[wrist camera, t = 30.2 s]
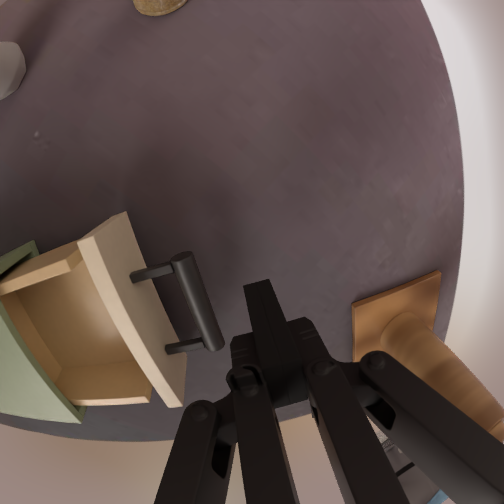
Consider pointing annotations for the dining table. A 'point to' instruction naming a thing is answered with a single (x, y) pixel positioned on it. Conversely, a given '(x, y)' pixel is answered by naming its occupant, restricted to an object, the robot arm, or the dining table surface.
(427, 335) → the pepper mill
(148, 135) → the dining table surface
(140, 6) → the spice jar
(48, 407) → the cabinet
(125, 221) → the drawer
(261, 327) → the robot arm
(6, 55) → the salt shaker
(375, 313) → the square wooden board
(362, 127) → the dining table surface
